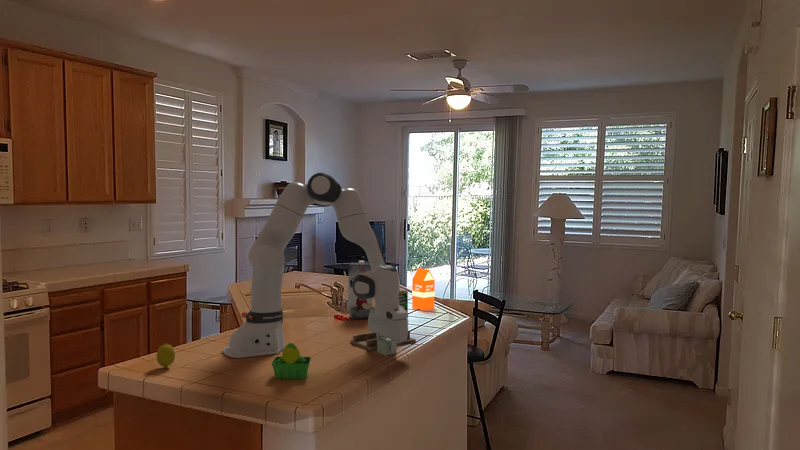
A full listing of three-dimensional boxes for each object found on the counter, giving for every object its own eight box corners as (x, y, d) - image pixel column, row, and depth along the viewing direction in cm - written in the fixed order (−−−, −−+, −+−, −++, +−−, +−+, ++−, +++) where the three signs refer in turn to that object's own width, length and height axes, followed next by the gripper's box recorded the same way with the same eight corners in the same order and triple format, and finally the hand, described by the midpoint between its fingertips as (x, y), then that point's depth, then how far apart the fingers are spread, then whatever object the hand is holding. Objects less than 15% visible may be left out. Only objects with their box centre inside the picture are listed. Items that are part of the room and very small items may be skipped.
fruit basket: (311, 372, 174) (311, 337, 173) (307, 381, 165) (307, 344, 165) (275, 372, 174) (275, 337, 173) (270, 381, 165) (269, 344, 164)
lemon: (169, 364, 181) (169, 340, 181) (178, 367, 178) (178, 343, 177) (153, 368, 177) (153, 343, 176) (161, 371, 173) (161, 346, 173)
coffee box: (392, 320, 249) (392, 292, 249) (389, 319, 252) (390, 291, 251) (408, 318, 253) (408, 290, 252) (405, 317, 256) (405, 289, 255)
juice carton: (347, 316, 258) (347, 259, 256) (368, 315, 261) (369, 259, 260) (351, 320, 249) (351, 261, 248) (373, 319, 252) (373, 261, 251)
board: (370, 351, 198) (370, 340, 198) (350, 343, 209) (350, 332, 209) (415, 342, 211) (415, 332, 211) (394, 335, 222) (394, 325, 222)
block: (385, 355, 193) (385, 343, 193) (377, 352, 197) (377, 340, 197) (396, 353, 196) (396, 340, 196) (388, 350, 200) (388, 338, 200)
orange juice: (423, 305, 287) (423, 267, 286) (434, 307, 280) (435, 269, 279) (411, 307, 282) (412, 268, 281) (423, 309, 275) (423, 270, 274)
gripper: (363, 306, 202) (363, 343, 203) (396, 316, 186) (396, 356, 186) (377, 304, 206) (377, 340, 207) (411, 313, 190) (411, 353, 190)
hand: (386, 348), depth 196 cm, fingers closed on block, 5 cm apart
